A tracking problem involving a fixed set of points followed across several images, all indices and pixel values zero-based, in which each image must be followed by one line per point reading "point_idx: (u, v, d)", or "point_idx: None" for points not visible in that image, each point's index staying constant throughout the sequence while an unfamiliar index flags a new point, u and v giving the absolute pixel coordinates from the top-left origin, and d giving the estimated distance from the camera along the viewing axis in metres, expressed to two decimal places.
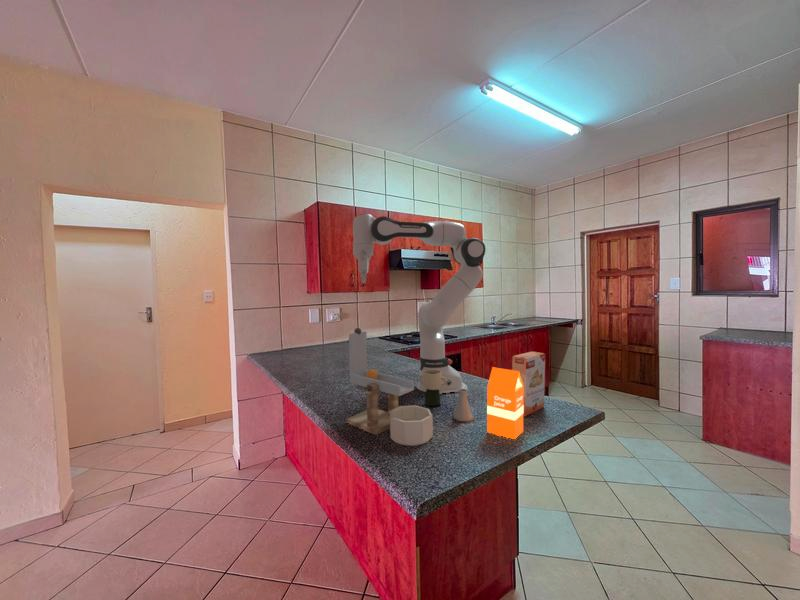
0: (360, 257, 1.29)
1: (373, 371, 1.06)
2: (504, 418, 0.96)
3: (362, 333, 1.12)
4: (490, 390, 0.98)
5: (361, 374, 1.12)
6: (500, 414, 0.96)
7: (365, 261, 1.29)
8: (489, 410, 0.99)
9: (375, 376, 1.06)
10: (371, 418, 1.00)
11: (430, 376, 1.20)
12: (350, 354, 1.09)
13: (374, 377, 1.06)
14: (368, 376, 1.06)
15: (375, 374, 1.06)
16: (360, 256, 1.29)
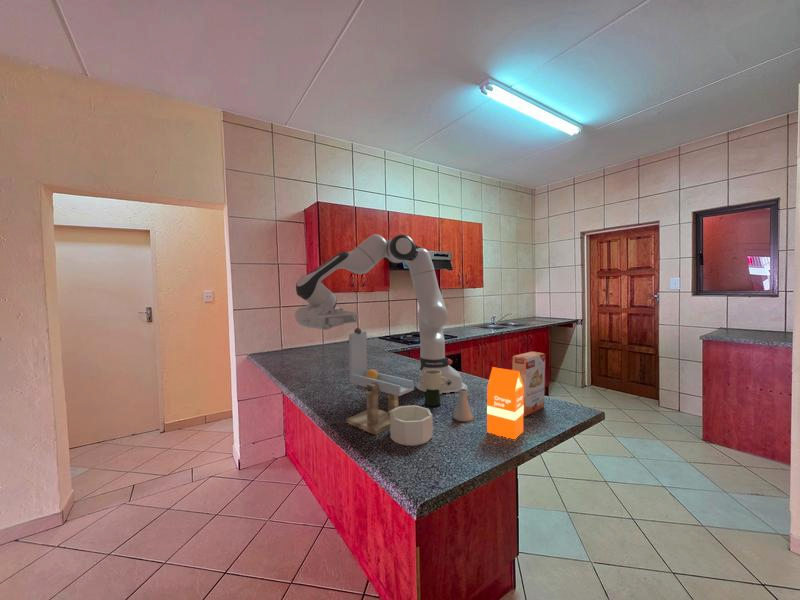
0: (308, 323, 1.14)
1: (373, 371, 1.06)
2: (504, 418, 0.96)
3: (362, 333, 1.12)
4: (490, 390, 0.98)
5: (361, 374, 1.12)
6: (500, 414, 0.96)
7: (310, 318, 1.12)
8: (489, 410, 0.99)
9: (375, 376, 1.06)
10: (371, 418, 1.00)
11: (430, 376, 1.20)
12: (350, 354, 1.09)
13: (374, 377, 1.06)
14: (368, 376, 1.06)
15: (375, 374, 1.06)
16: (308, 323, 1.14)
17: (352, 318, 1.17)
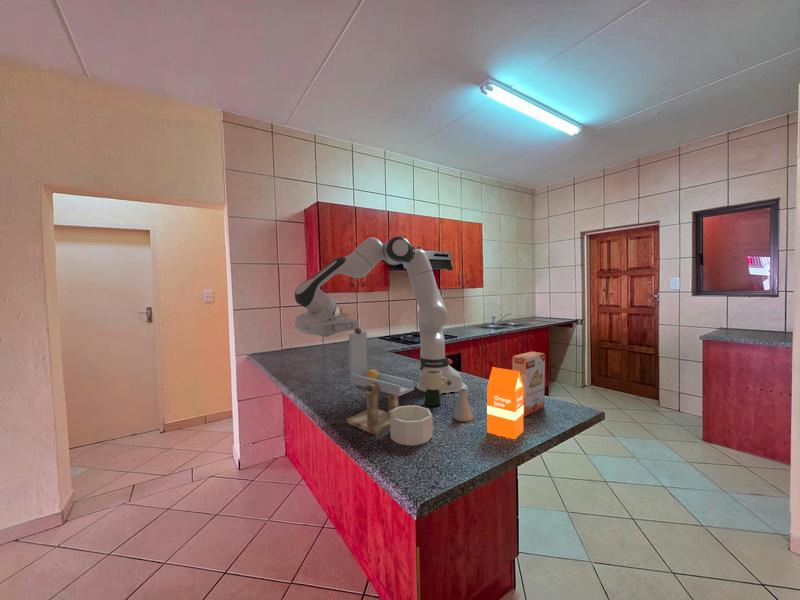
0: (308, 330, 1.14)
1: (373, 371, 1.06)
2: (504, 418, 0.96)
3: (362, 333, 1.12)
4: (490, 390, 0.98)
5: (361, 374, 1.12)
6: (500, 414, 0.96)
7: (310, 325, 1.13)
8: (489, 410, 0.99)
9: (375, 376, 1.06)
10: (371, 418, 1.00)
11: (430, 376, 1.20)
12: (350, 354, 1.09)
13: (374, 377, 1.06)
14: (368, 376, 1.06)
15: (375, 374, 1.06)
16: (308, 330, 1.14)
17: None
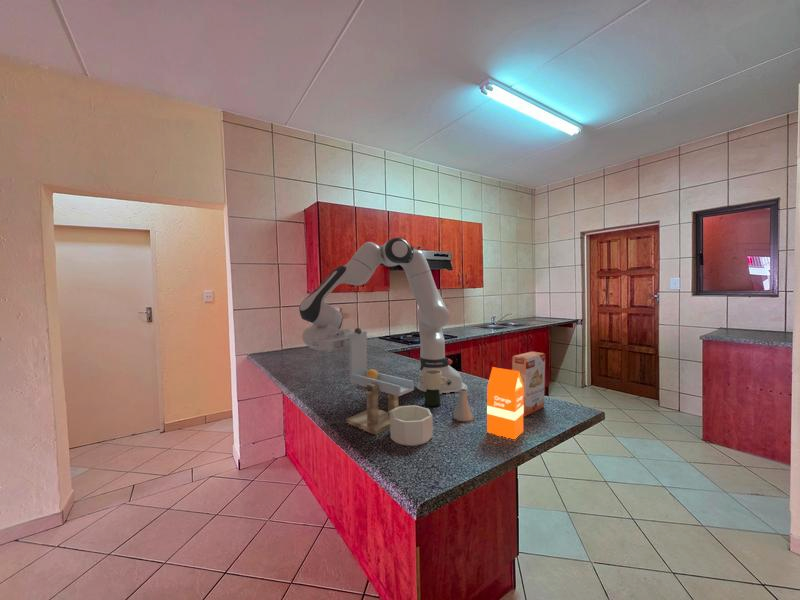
0: (317, 347, 1.11)
1: (373, 371, 1.06)
2: (504, 418, 0.96)
3: (362, 333, 1.12)
4: (490, 390, 0.98)
5: (361, 374, 1.12)
6: (500, 414, 0.96)
7: (319, 342, 1.10)
8: (489, 410, 0.99)
9: (375, 376, 1.06)
10: (371, 418, 1.00)
11: (430, 376, 1.20)
12: (350, 354, 1.09)
13: (374, 377, 1.06)
14: (368, 376, 1.06)
15: (375, 374, 1.06)
16: (316, 347, 1.12)
17: None
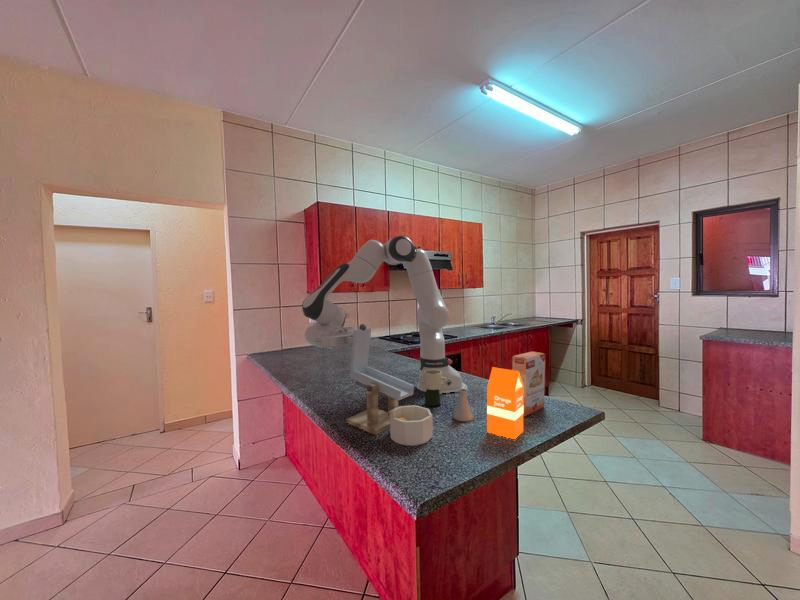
0: (319, 343, 1.10)
1: None
2: (504, 418, 0.96)
3: (367, 329, 1.11)
4: (490, 390, 0.98)
5: (361, 370, 1.12)
6: (500, 414, 0.96)
7: (321, 338, 1.09)
8: (489, 410, 0.99)
9: None
10: (371, 418, 1.00)
11: (430, 376, 1.20)
12: (353, 350, 1.08)
13: None
14: None
15: None
16: (319, 343, 1.11)
17: None
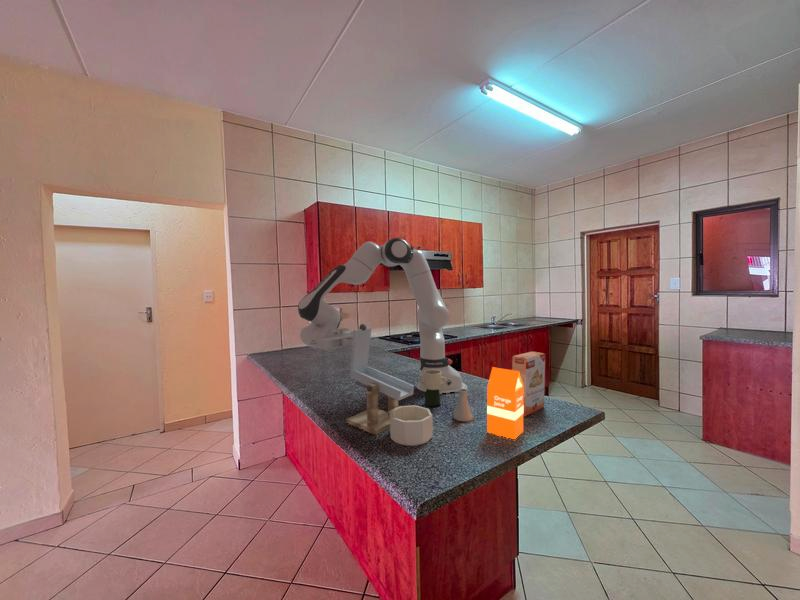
0: (315, 345, 1.11)
1: None
2: (504, 418, 0.96)
3: (367, 329, 1.10)
4: (490, 390, 0.98)
5: (361, 370, 1.12)
6: (500, 414, 0.96)
7: (317, 340, 1.10)
8: (489, 410, 0.99)
9: None
10: (371, 418, 1.00)
11: (430, 376, 1.20)
12: (353, 350, 1.08)
13: None
14: None
15: None
16: (315, 345, 1.12)
17: None
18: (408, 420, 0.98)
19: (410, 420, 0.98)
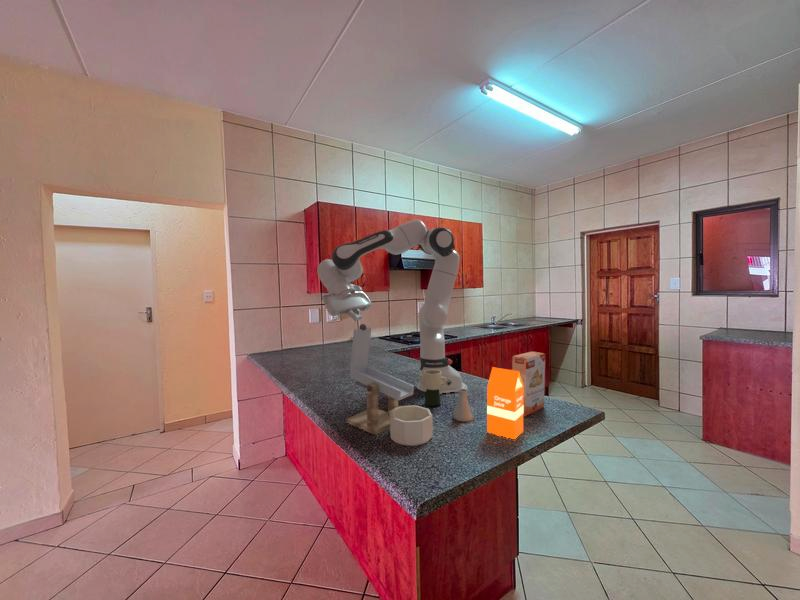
0: None
1: None
2: (504, 418, 0.96)
3: (367, 329, 1.10)
4: (490, 390, 0.98)
5: (361, 370, 1.12)
6: (500, 414, 0.96)
7: (329, 303, 1.18)
8: (489, 410, 0.99)
9: None
10: (371, 418, 1.00)
11: (430, 376, 1.20)
12: (353, 350, 1.08)
13: None
14: None
15: None
16: (325, 302, 1.20)
17: None
18: None
19: None
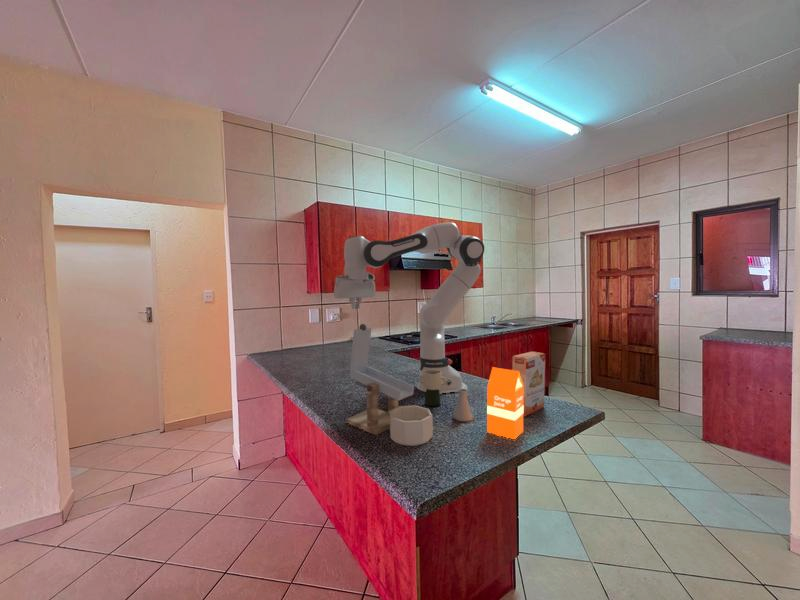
0: None
1: None
2: (504, 418, 0.96)
3: (367, 329, 1.10)
4: (490, 390, 0.98)
5: (361, 370, 1.12)
6: (500, 414, 0.96)
7: (338, 288, 1.23)
8: (489, 410, 0.99)
9: None
10: (371, 418, 1.00)
11: (430, 376, 1.20)
12: (353, 350, 1.08)
13: None
14: None
15: None
16: None
17: None
18: None
19: None
